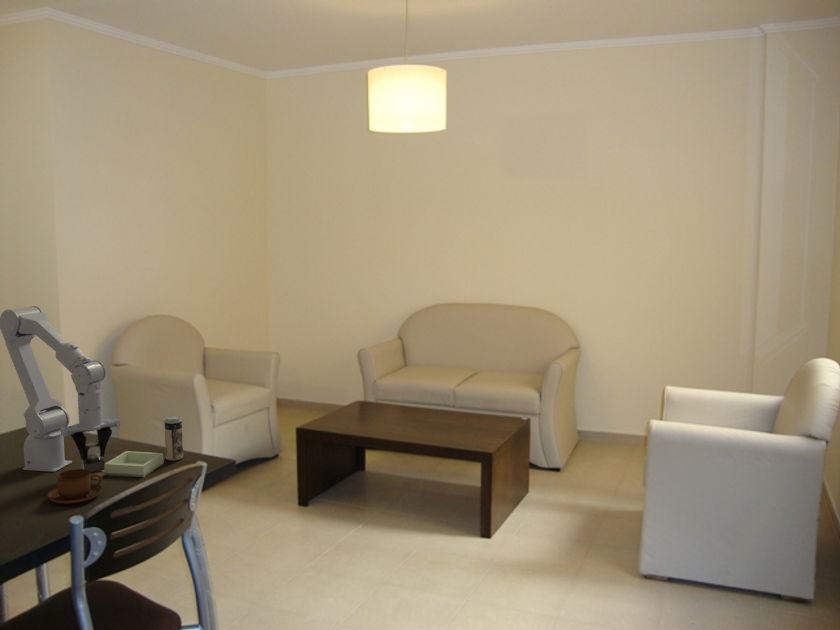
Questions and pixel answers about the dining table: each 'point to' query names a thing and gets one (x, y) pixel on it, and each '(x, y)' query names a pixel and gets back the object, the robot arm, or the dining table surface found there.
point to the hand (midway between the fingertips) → (92, 457)
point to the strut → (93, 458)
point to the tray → (134, 464)
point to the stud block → (101, 473)
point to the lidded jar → (173, 438)
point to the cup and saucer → (75, 487)
